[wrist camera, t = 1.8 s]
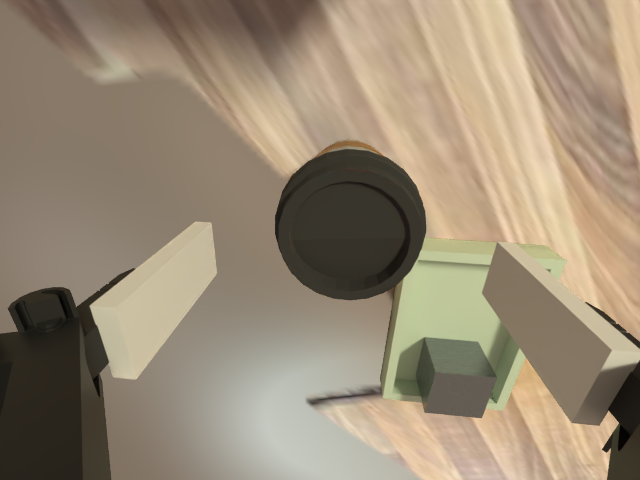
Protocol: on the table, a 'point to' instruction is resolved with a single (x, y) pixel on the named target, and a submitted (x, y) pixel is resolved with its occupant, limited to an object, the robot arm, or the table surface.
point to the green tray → (452, 314)
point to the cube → (454, 377)
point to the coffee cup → (350, 222)
